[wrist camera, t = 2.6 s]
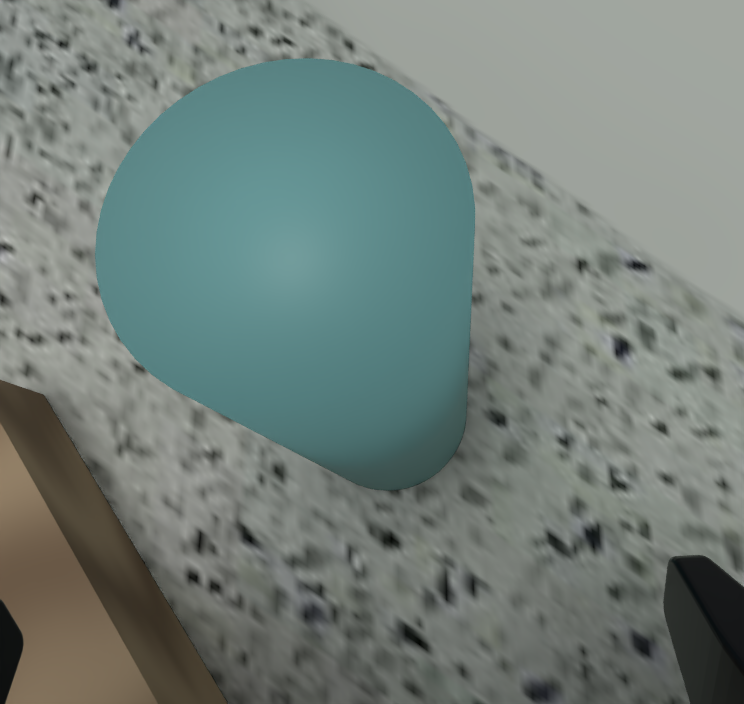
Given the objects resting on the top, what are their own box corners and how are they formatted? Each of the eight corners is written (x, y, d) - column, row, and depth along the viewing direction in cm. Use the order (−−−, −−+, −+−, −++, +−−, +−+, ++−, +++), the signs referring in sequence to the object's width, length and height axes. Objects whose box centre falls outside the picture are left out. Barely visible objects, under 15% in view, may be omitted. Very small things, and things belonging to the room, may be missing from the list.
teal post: (499, 422, 20) (562, 237, 8) (373, 524, 20) (227, 500, 7) (400, 307, 22) (320, -3, 9) (281, 399, 21) (31, 207, 9)
